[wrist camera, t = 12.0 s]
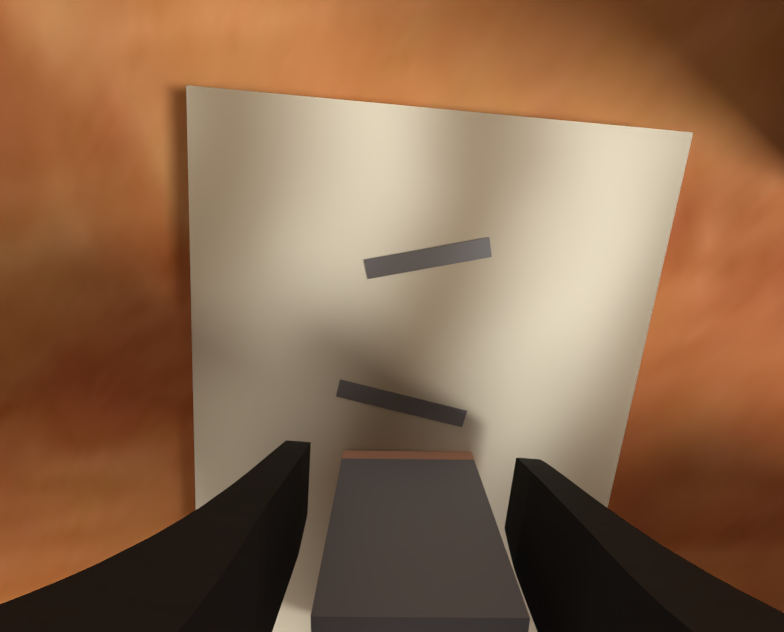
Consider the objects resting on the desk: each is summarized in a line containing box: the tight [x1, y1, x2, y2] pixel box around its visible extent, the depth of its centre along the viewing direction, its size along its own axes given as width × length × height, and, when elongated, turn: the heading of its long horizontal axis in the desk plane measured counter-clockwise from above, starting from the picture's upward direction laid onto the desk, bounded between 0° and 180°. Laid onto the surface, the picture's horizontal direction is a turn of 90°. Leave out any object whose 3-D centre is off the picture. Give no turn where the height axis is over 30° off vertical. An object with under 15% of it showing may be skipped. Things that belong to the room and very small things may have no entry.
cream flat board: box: [186, 85, 693, 632], centre depth 12 cm, size 12×17×1 cm
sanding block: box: [311, 450, 530, 632], centre depth 10 cm, size 4×6×5 cm, turn 179°
